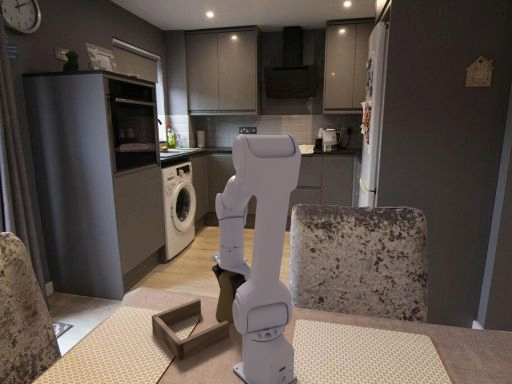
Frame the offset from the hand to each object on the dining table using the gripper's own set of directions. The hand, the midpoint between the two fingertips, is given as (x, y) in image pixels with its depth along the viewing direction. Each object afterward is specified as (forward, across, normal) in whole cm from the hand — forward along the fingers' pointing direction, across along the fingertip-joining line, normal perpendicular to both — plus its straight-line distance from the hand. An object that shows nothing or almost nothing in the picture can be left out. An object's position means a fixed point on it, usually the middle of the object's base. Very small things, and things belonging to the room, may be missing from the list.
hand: (232, 297), depth 81 cm
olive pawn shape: (+5, 0, +1) cm, 5 cm away
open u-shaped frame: (+5, 0, +11) cm, 12 cm away
